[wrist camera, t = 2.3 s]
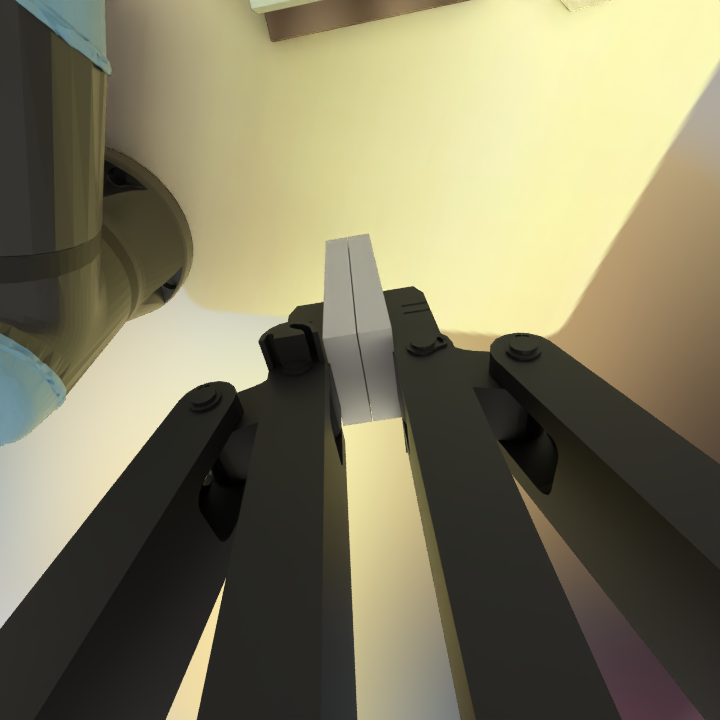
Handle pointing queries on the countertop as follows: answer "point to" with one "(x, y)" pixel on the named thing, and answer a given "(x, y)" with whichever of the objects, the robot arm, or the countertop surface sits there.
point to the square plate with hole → (275, 4)
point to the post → (339, 15)
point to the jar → (581, 3)
